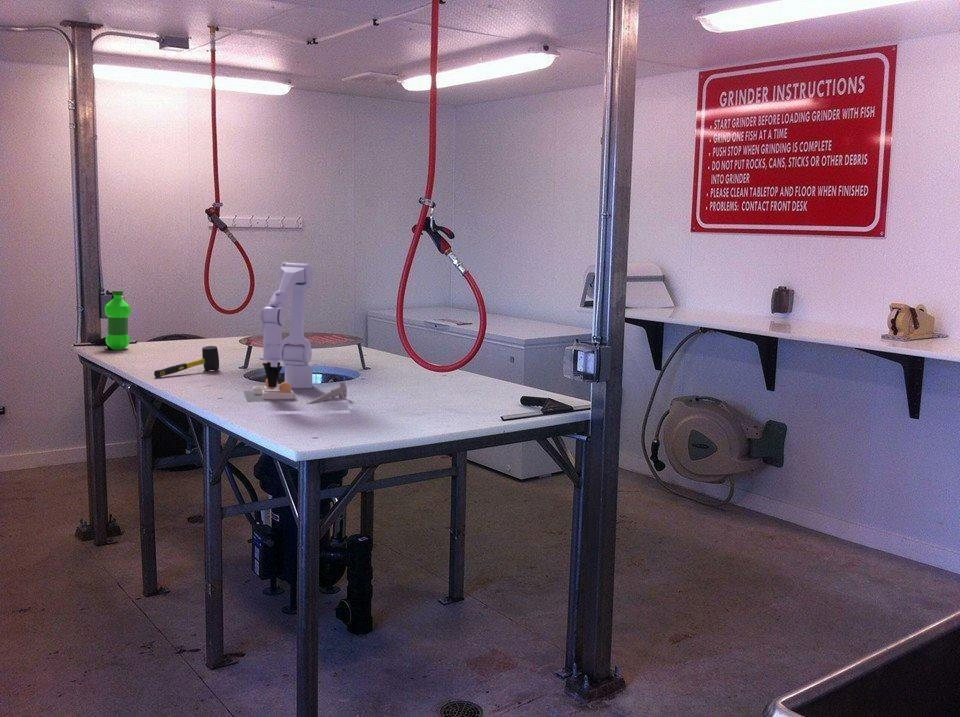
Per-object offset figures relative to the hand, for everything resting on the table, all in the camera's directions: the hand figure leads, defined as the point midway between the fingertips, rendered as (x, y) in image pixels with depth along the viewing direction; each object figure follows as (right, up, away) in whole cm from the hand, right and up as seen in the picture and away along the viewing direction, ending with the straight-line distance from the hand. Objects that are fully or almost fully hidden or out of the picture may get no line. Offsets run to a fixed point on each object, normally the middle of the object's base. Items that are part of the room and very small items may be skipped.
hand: (271, 385), depth 285 cm
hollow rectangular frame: (+2, -4, +1) cm, 4 cm away
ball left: (+4, -1, +1) cm, 4 cm away
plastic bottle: (-89, +13, +95) cm, 131 cm away
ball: (0, +1, 0) cm, 1 cm away
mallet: (-41, +3, +43) cm, 60 cm away
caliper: (+17, -6, +2) cm, 18 cm away
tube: (-6, -3, +7) cm, 9 cm away
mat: (-1, -4, +3) cm, 6 cm away
